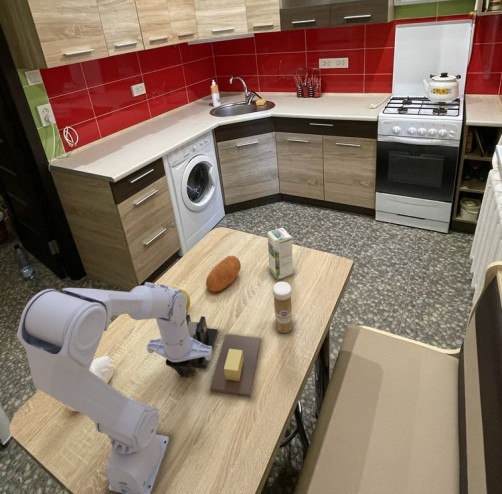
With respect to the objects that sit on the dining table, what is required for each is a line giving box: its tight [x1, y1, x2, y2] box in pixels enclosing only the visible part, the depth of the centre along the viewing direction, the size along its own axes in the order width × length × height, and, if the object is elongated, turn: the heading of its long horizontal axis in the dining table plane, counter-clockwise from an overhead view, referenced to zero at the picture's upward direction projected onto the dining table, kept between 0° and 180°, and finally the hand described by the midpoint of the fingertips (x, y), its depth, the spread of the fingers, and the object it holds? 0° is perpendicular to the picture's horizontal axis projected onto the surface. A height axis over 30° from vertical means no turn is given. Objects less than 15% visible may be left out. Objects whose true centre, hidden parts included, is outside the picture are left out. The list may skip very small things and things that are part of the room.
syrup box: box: [266, 227, 294, 281], centre depth 106 cm, size 6×6×14 cm
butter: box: [224, 349, 244, 381], centre depth 79 cm, size 5×3×4 cm, turn 169°
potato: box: [205, 255, 242, 293], centre depth 106 cm, size 7×13×7 cm, turn 137°
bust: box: [62, 355, 115, 412], centre depth 78 cm, size 12×8×11 cm
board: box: [209, 333, 261, 398], centre depth 82 cm, size 14×9×1 cm, turn 169°
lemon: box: [181, 289, 191, 312], centre depth 96 cm, size 6×6×8 cm
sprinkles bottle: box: [272, 281, 293, 334], centre depth 88 cm, size 5×5×14 cm
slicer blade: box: [188, 320, 199, 376], centre depth 83 cm, size 11×4×2 cm
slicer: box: [186, 314, 219, 369], centre depth 85 cm, size 10×8×9 cm
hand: (185, 373), depth 79 cm, fingers closed, pressing on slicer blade
